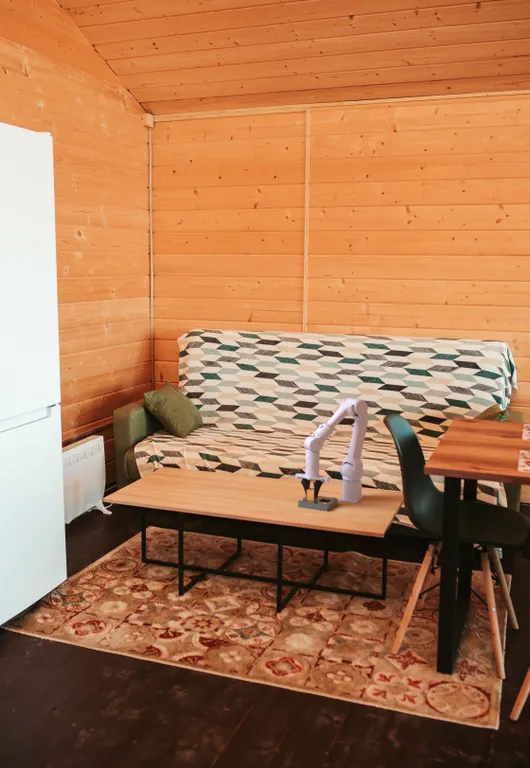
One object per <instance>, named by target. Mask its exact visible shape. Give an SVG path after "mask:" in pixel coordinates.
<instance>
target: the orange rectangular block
mask: <svg viewBox="0 0 530 768" xmlns="http://www.w3.org/2000/svg"><path fill="white" fill-rule="evenodd" d="M307 500H312V501H315V500H317V498H316V499H315V498H314V487H310V488H309V489H307Z"/></svg>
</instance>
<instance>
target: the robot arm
mask: <svg viewBox="0 0 530 768" xmlns="http://www.w3.org/2000/svg"><path fill="white" fill-rule="evenodd" d="M368 409H369V405H368V404H367V402H366V401H365V400H363V399H359V398H354V397H351V396H348V397H345V399H343V401H341V402H340V405H339V408H337V410H336V411H335V412H334V413H333V415H331V417H330V418H329V420H328V421H327V422H325V423H322V424H321V423H320V424H319V425H318V428H317V429H316V430H315V431H314V432H313V433H311V435H310V436H307V437H306V438H305V440H304V442H303V443H302V446H303V448H304V449H305V473H295V475H294V476H295V477H294V478H295V479H296V480H298V479H299V480H300V484H301V485H302V487H303V490H304V494H305V497H307V489H309V488H311V482H312V481H313V488H314V498H315V499H316V498H318V496H319V492H320V490H321V487H322V486H323V484H324V483H326V484H328V483H330V477H329V476H323V475H320V456H321V455H320V453H321V451H322V449H323V447H324V443H325V442H326V441H327V440H328V438H329V437H330V436H331V435H332V434H333V432H334V431H333V429H334V428H335V427H336V426H337V425H338V424H339V423H340V422H342V420H344V419H345V417H352V418H353V420H354V423H353V428H352V429H353V430H352V433H351V439H350V444H349V448H348V453H347V456H346V457H345V458H343V461H342V464H341V465H340V468H339V473H340V474H341V476H342V477H341V478H342V496H341V497H340V498H338V501H341V502H342V501H343V502H348V503H358V502H360V501H361V500H362V499H364V496H362V489H363V487H362V486H363V484H362V480H361V479H362V478H363V476H364V469H363V468H364V463H363V461H362V459H361V458H362V452H363V448H364V443H365V437H366V433H367V427H368V424H369V414H368V413H369V412H368Z"/></svg>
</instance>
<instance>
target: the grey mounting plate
mask: <svg viewBox="0 0 530 768" xmlns="http://www.w3.org/2000/svg"><path fill="white" fill-rule="evenodd" d="M338 504H339V498H338V497H337V498H336V497H335V496H333V497H331V496H323V495H318V498H317V500H315V501H312V500H307V497H306V496H304V497H302V498H301V499H299V500H298V501H297V507H298V508H303V509H309V510H316V511H323V512H328V511H330V510H332V509H333V508H334V507H336V506H337V505H338Z"/></svg>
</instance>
